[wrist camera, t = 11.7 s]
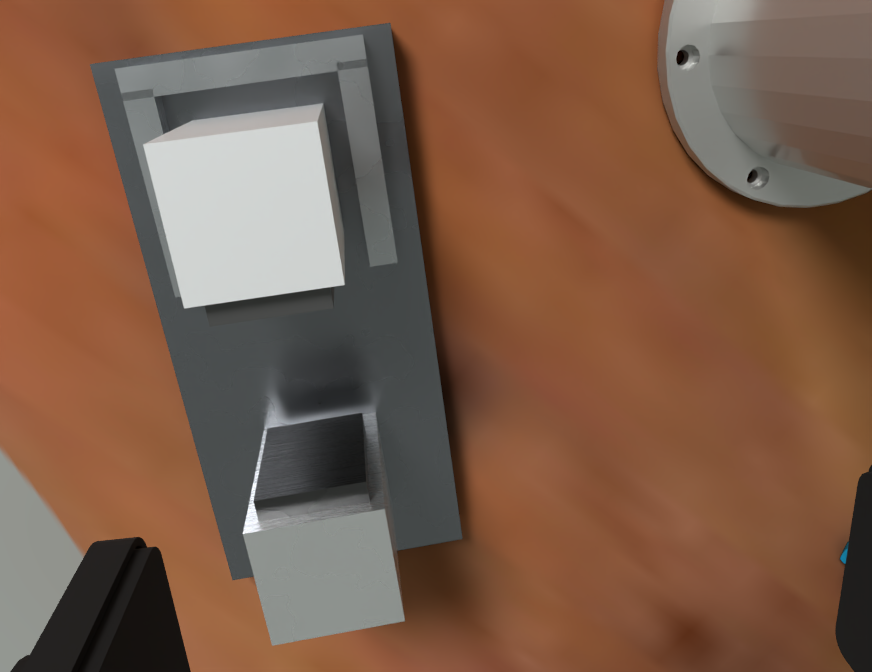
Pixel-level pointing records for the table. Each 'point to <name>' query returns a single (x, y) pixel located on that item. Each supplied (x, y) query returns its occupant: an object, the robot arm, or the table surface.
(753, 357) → the table surface
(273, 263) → the block
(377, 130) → the rail
